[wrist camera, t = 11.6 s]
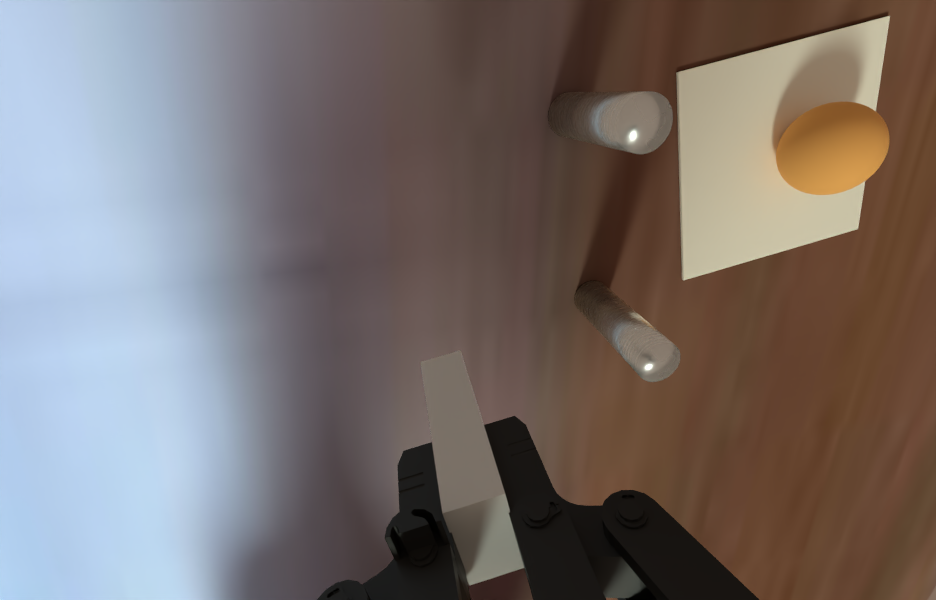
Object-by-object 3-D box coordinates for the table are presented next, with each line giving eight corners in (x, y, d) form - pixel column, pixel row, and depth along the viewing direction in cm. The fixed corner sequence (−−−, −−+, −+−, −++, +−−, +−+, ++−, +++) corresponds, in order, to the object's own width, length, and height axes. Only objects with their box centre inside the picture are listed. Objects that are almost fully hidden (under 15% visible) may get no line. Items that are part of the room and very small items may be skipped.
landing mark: (681, 279, 34) (683, 280, 34) (676, 72, 28) (678, 72, 28) (855, 228, 35) (857, 228, 34) (886, 16, 29) (889, 15, 28)
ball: (839, 173, 32) (755, 188, 33) (855, 87, 29) (764, 106, 30) (901, 197, 27) (801, 214, 28) (928, 98, 24) (817, 119, 25)
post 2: (576, 316, 34) (639, 387, 25) (572, 286, 33) (635, 350, 24) (608, 306, 34) (681, 374, 26) (605, 276, 33) (679, 336, 25)
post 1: (551, 141, 28) (620, 160, 20) (545, 98, 27) (615, 99, 19) (590, 131, 28) (673, 146, 20) (585, 87, 27) (671, 84, 19)
